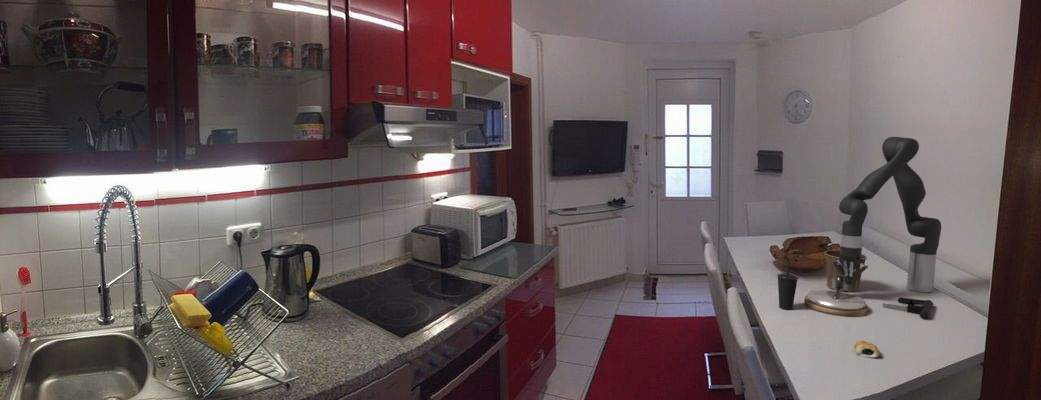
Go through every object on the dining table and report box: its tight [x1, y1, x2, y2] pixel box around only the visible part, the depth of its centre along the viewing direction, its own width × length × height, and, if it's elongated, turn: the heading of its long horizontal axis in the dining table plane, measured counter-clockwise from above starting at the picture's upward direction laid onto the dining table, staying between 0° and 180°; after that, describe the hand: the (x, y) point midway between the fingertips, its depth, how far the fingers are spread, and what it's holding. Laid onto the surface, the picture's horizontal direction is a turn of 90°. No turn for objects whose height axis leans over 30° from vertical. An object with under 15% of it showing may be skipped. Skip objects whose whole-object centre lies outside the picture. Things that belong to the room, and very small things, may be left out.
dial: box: [806, 276, 866, 310], centre depth 200 cm, size 26×20×7 cm
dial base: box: [803, 294, 869, 318], centre depth 199 cm, size 22×22×2 cm
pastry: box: [853, 340, 881, 359], centre depth 158 cm, size 9×7×4 cm
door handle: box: [882, 297, 937, 320], centre depth 195 cm, size 3×20×16 cm
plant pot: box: [824, 249, 868, 293], centre depth 221 cm, size 16×16×16 cm
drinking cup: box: [776, 260, 799, 311], centre depth 197 cm, size 8×8×20 cm
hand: (849, 284), depth 207 cm, fingers closed
